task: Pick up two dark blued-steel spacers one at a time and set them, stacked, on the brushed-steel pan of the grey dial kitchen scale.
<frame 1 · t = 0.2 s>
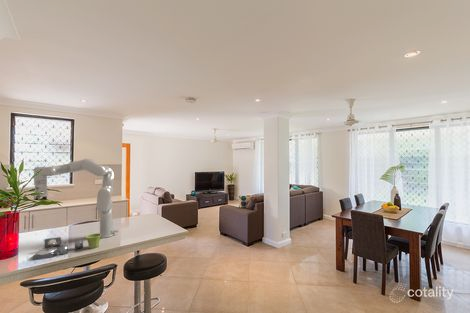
hand: (41, 204, 168), 31 cm above the counter, fingers open, 9 cm apart
scale: (48, 253, 149), on the counter
plant pot: (93, 247, 159), on the counter
spacer a: (79, 248, 157), on the counter
spacer b: (63, 253, 149), on the counter
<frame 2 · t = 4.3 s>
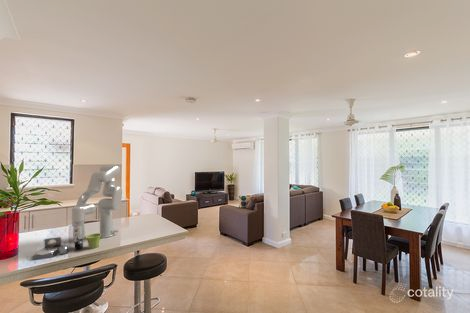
hand: (79, 247, 157), 0 cm above the counter, fingers closed on spacer a, 5 cm apart
spacer a: (79, 248, 157), on the counter, touching gripper
everything else where it was.
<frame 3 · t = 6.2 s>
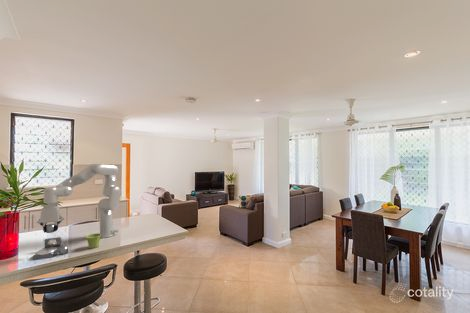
hand: (50, 231, 148), 16 cm above the counter, fingers closed on spacer a, 5 cm apart
spacer a: (50, 231, 148), point 16 cm above the counter, touching gripper
everything else where it was.
when the fingers open (5 cm above the counter, at t = 8.4 s): spacer a stays where it is, resting on scale.
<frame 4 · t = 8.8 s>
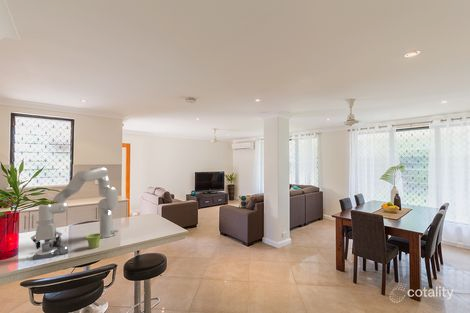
hand: (46, 247, 147), 5 cm above the counter, fingers open, 8 cm apart
spacer a: (47, 250, 147), point 3 cm above the counter, touching scale
everything else where it was.
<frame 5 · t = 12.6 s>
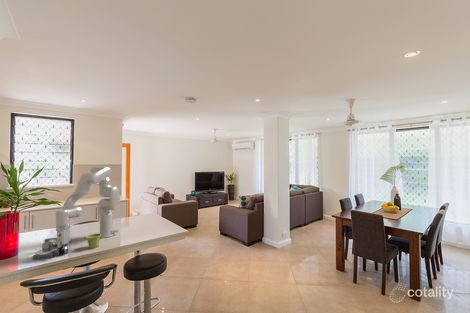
hand: (63, 253, 149), 0 cm above the counter, fingers closed on spacer b, 5 cm apart
spacer b: (63, 253, 149), on the counter, touching gripper
everything else where it was.
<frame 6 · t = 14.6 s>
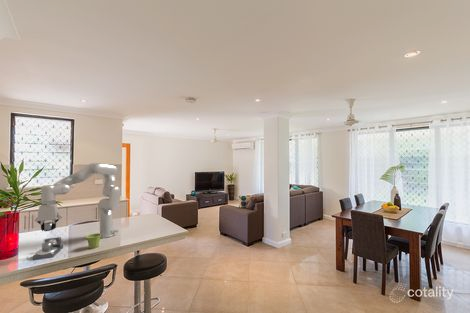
hand: (48, 229, 147), 18 cm above the counter, fingers closed on spacer b, 5 cm apart
spacer b: (48, 230, 147), point 17 cm above the counter, touching gripper
everything else where it was.
when the fingers open (10 cm above the counter, at t = 16.5 s): spacer b stays where it is, resting on spacer a.
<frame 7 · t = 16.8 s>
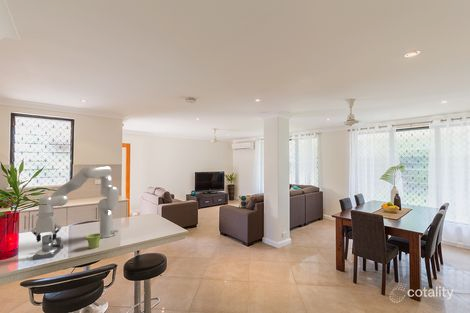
hand: (46, 240, 147), 10 cm above the counter, fingers open, 8 cm apart
spacer a: (47, 250, 147), point 3 cm above the counter, touching scale, spacer b
spacer b: (47, 243, 147), point 8 cm above the counter, touching spacer a
everything else where it was.
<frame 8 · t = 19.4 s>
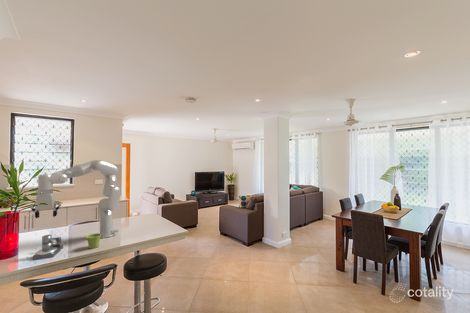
hand: (46, 217, 147), 26 cm above the counter, fingers open, 9 cm apart
nothing on the counter moved.
at the end: spacer a inside the target area on the scale (0.1 cm from its centre), point 3.3 cm above the scale's base; spacer b 0.0 cm off-centre on the spacer a, point 5.0 cm above the spacer a's base; spacer b tilted 0° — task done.
